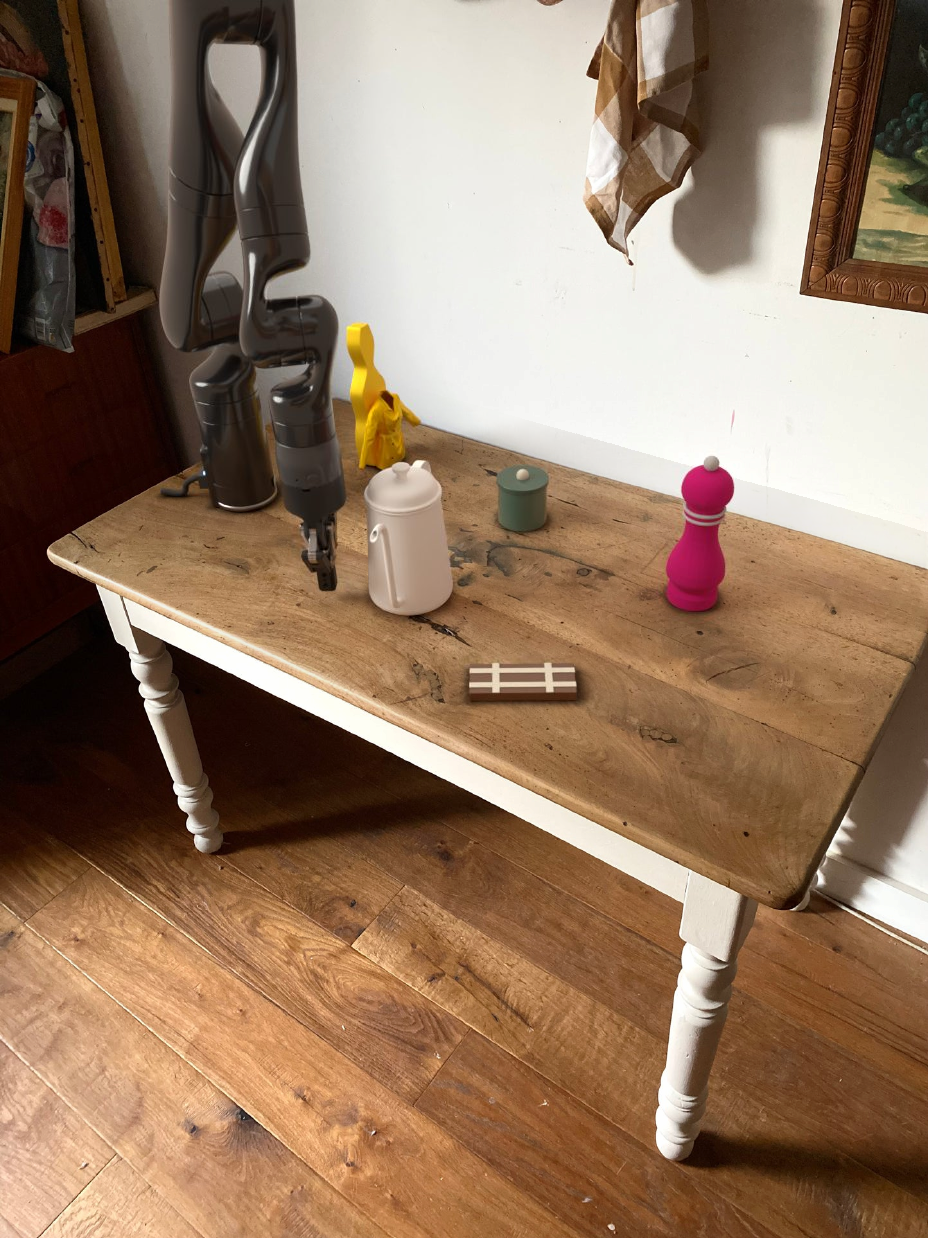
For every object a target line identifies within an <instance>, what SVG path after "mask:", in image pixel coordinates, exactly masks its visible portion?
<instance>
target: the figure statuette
mask: <svg viewBox="0 0 928 1238" xmlns="http://www.w3.org/2000/svg"><path fill="white" fill-rule="evenodd" d="M346 349H347V353H348V356H349V357H350V359H351V361H352V364H353V374H352V379H351V384H350V388H349V399H350V404H351V407H352V410H353V413H354V417H355V429H354V434H355V435H354V438H355V440H354V441H355V448H356V449H355V450H356V453H357V457H358V460H359V462H358V469H359V470H365V468H366V465H367V466H373V467H376V468H378V469H379V470H381V471H383V470H385V469H388V468H391V467H392V465H393V464H395V463H398V462H403V460H404V458H405V457H406V446H405V440H404V434H403V431H402V421H403V420H404V421H406V423H408V424H409V425H410V426H411V427H412V428H415V427H417V426H419V425H420V424H421V423H422V420H421V419H420V418H419V417H418V416H417V415H415V413H414V412H413V411H412V410H411V409H409V407H407V406H406V405H405V404H404V403H403V401H402V399H401V397H400V395H399V394H398V393H395V392H390V391H389V390H388V389H387V385H386V380H385V379H384V377H383V375H382V374H381V373H380V371H378V369H377V368H376V366H375V363H374V362H375V361H374V359H375V339H374V335H373V333H372V329H371V327H370V325H369V324H368V323H364V322H353V323H352V324H350V325H349V326H347V327H346Z"/></svg>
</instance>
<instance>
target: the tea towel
mask: <svg viewBox="0 0 928 1238" xmlns="http://www.w3.org/2000/svg"><path fill="white" fill-rule="evenodd" d="M468 682H469V684H468V686H469V687H468V688H469V689H468V697H469V699H468V700H469V701H470V702H489V701H490V702H493V701H496V702H497V701H499V702H501V701H507V702H508V701H510V702H511V701H515V702H516V701H577V699H578V690H577V680H576V670H575V664H574V663H573V662H568V663H567V662H565V663H564V662H562V663H561V662H560V663H559V662H558V663H556V662H555V663H552V662H543V663H500V662H492V663H470V664H469V681H468Z"/></svg>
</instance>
